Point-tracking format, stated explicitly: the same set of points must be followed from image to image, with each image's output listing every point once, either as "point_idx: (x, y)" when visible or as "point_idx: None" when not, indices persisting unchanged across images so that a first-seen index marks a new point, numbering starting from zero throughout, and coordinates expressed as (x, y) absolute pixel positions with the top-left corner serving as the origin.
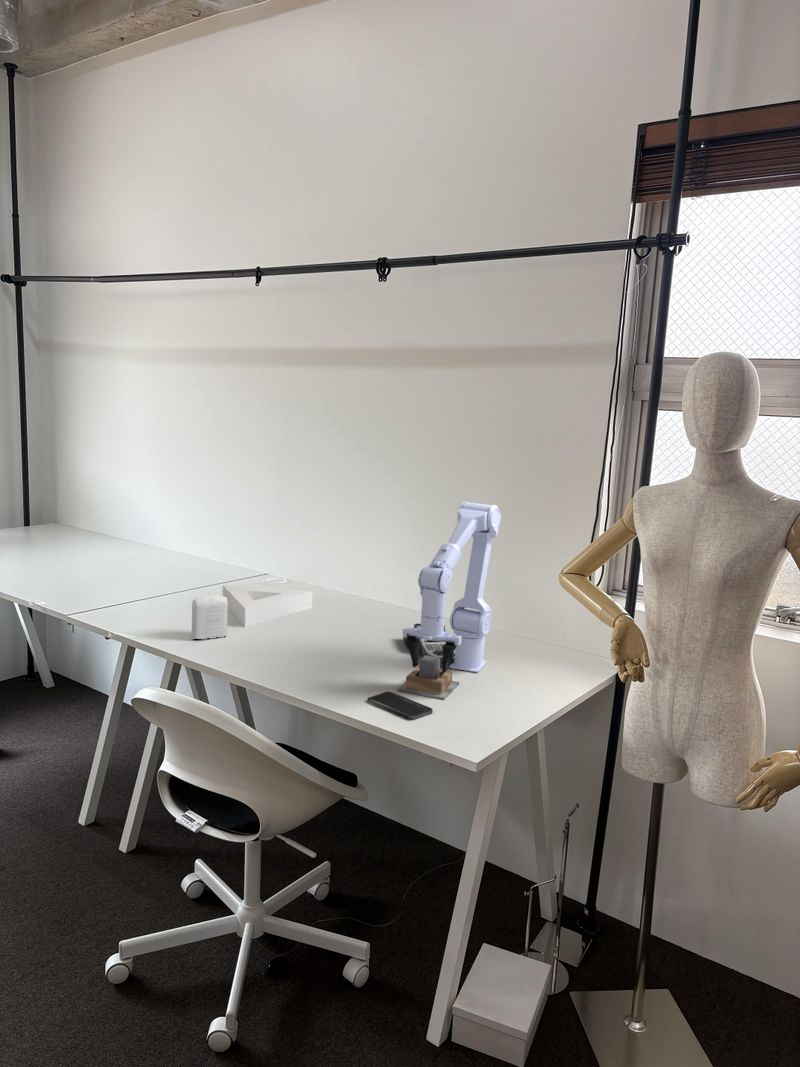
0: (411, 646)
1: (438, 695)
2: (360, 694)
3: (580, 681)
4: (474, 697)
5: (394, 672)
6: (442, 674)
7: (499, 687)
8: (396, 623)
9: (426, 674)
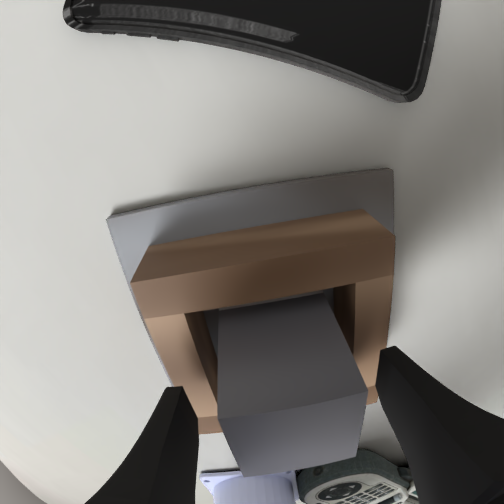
0: (490, 446)
1: (149, 228)
2: (488, 46)
3: (30, 478)
4: (50, 324)
5: (450, 346)
6: None
7: (77, 426)
8: None
9: (278, 328)
